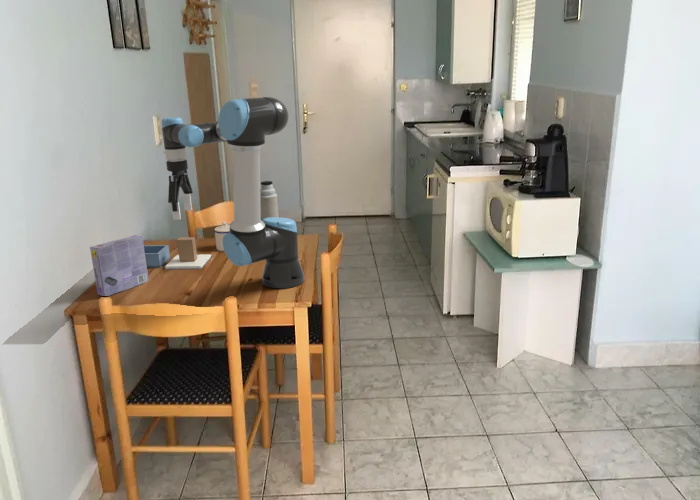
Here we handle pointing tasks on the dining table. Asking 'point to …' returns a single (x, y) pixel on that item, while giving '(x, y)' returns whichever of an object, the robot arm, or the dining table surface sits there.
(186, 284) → the dining table surface
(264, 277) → the robot arm
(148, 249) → the blue open box
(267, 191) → the thermos bottle
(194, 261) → the lid
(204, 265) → the mat
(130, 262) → the cake pan box
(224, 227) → the teacup with lid
